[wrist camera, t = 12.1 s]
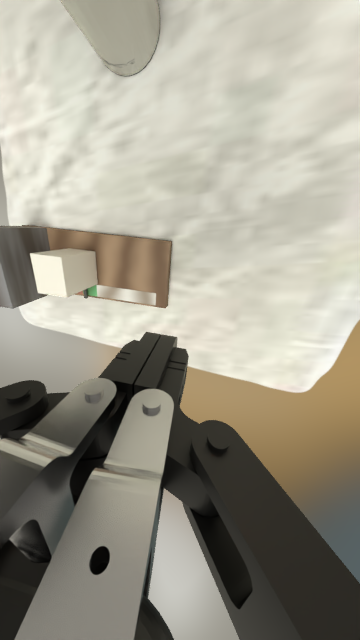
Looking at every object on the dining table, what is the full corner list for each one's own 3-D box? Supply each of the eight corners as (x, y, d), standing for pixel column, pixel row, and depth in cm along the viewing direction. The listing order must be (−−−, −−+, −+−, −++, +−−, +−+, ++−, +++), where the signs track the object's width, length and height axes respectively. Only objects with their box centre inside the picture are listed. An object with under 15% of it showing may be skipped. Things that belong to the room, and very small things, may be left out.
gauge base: (172, 241, 36) (152, 246, 25) (167, 305, 41) (149, 331, 30) (29, 225, 39) (-40, 224, 29) (41, 286, 44) (-14, 304, 34)
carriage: (95, 251, 37) (61, 257, 29) (98, 299, 41) (69, 315, 33) (59, 247, 38) (17, 251, 30) (66, 294, 42) (30, 309, 34)
